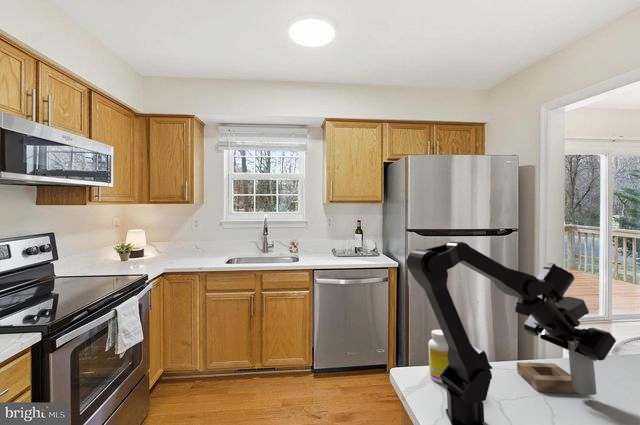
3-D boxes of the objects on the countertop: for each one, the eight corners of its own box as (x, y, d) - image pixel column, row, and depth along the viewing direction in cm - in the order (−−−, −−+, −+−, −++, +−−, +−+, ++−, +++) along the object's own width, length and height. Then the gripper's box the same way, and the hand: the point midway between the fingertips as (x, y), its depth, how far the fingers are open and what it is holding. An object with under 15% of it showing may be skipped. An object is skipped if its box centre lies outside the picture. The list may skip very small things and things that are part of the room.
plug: (575, 393, 73) (570, 332, 74) (568, 384, 78) (563, 327, 79) (600, 396, 71) (594, 334, 72) (592, 387, 76) (586, 328, 77)
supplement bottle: (457, 385, 83) (455, 336, 83) (431, 383, 84) (429, 335, 85) (452, 373, 89) (450, 328, 90) (428, 372, 91) (426, 327, 91)
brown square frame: (536, 391, 79) (536, 379, 79) (517, 372, 89) (516, 362, 89) (579, 393, 77) (579, 381, 78) (555, 374, 87) (554, 363, 88)
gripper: (606, 295, 66) (649, 342, 68) (530, 280, 84) (565, 318, 86) (578, 336, 64) (623, 384, 66) (507, 312, 82) (543, 350, 84)
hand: (585, 354), depth 75 cm, fingers closed on plug, 5 cm apart
